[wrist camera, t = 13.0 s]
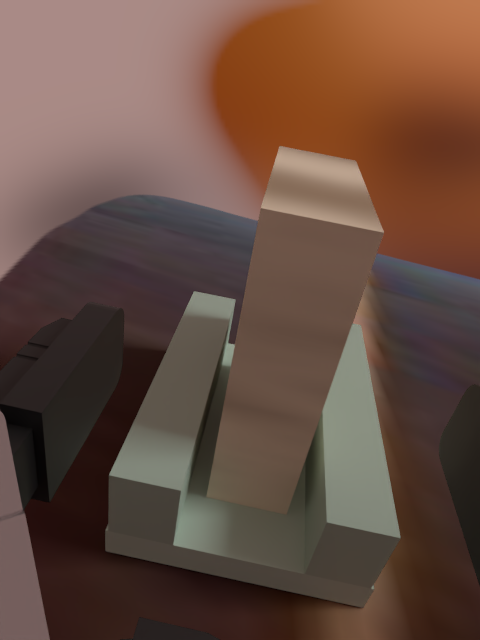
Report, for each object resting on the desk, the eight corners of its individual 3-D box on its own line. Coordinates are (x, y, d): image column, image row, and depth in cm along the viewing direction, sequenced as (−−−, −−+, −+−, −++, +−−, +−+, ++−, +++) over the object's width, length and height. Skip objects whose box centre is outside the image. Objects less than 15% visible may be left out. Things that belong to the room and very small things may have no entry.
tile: (236, 367, 24) (279, 145, 18) (293, 378, 24) (355, 160, 18) (206, 497, 17) (260, 208, 11) (286, 514, 17) (384, 232, 11)
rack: (185, 352, 26) (192, 291, 24) (341, 384, 26) (362, 325, 24) (105, 551, 16) (105, 474, 14) (363, 607, 16) (404, 538, 13)
